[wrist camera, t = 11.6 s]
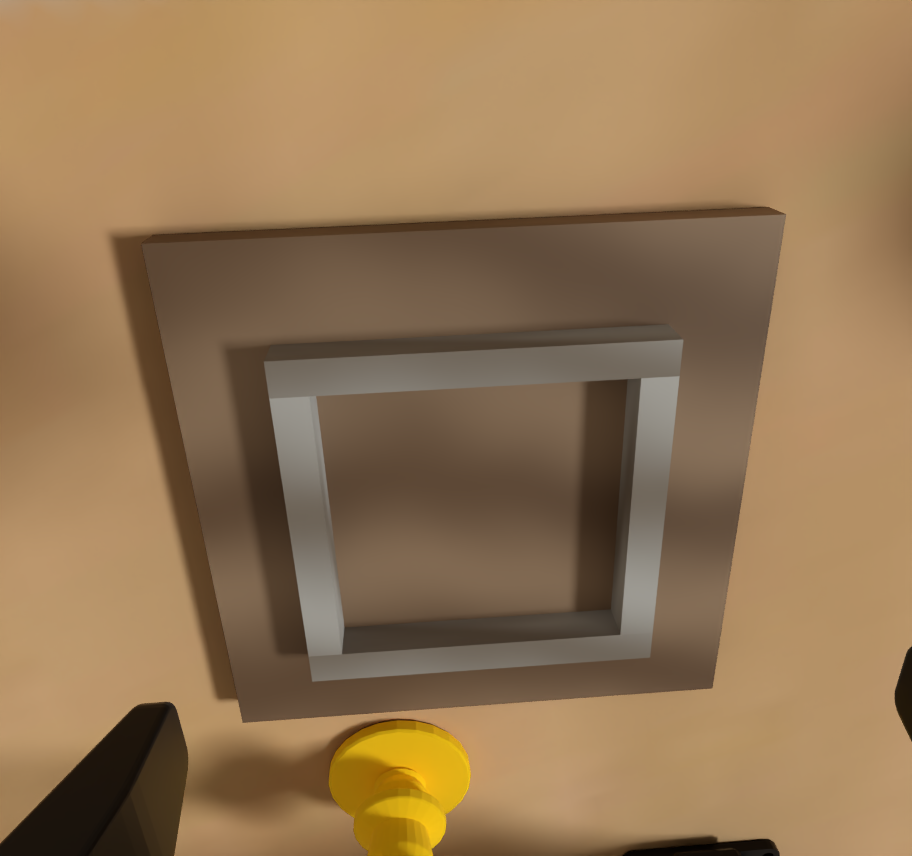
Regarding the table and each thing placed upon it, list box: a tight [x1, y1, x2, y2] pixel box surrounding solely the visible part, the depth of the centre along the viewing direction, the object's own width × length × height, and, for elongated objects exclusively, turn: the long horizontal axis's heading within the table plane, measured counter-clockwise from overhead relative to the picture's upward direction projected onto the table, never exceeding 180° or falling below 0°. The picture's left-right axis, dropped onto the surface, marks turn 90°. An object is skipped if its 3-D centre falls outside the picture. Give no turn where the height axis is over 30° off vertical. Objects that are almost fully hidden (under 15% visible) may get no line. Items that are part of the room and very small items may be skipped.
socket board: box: [141, 207, 786, 723], centre depth 22 cm, size 16×16×2 cm
